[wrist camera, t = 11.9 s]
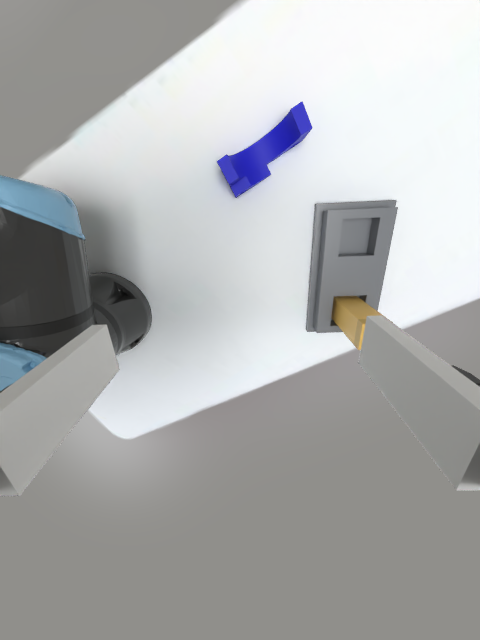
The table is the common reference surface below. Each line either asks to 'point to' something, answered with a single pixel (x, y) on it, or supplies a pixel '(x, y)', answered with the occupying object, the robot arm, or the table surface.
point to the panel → (348, 256)
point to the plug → (352, 317)
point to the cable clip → (265, 151)
